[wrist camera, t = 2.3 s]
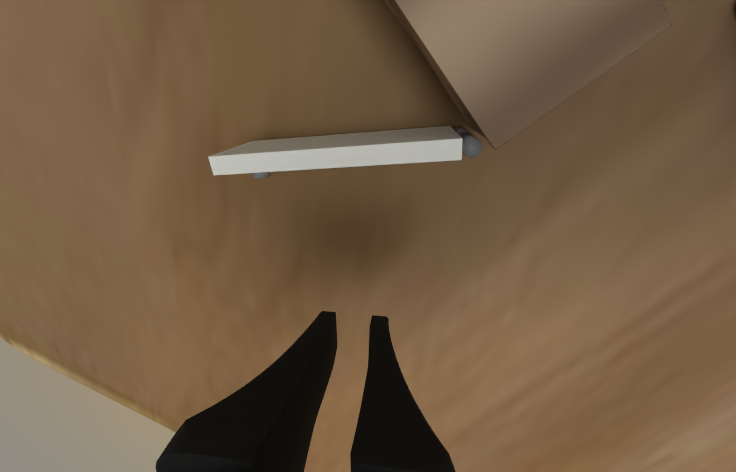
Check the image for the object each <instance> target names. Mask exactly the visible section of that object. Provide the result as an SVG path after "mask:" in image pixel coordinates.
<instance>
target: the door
mask: <svg viewBox="0 0 736 472" xmlns="http://www.w3.org/2000/svg"><path fill="white" fill-rule="evenodd" d="M481 149H482V144H481V142H480V140H478V139H477V138H476V137H475V136H473V135H472V134H471V133H469V132H468V131H467V130H466V129H464V128H463V127H461V126H457V127H455V128H454V129H452V128H451V127H450V126H439V127H426V128H413V129H400V130H387V131H375V132H362V133H349V134H336V135H323V136H310V137H297V138H285V139H272V140H259V141H251V142H248V143H245V144H242V145H240V146H237V147H234V148H231V149H228V150H225V151H223V152H220V153H217V154H214V155H211V156H208V158H209V161H210V165H211V168H212V171H213V175H226V174H242V173H253V176H254V178H255V179H260V178H266V177H269V176H270V172H275V171H291V170H307V169H323V168H339V167H355V166H372V165H388V164H404V163H420V162H436V161H452V160H462V152H463V153H464V154H465V155H466V156H468V157H474V156H477V155H478V154H479V153H480V151H481Z"/></svg>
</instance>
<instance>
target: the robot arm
mask: <svg viewBox="0 0 736 472" xmlns="http://www.w3.org/2000/svg"><path fill="white" fill-rule="evenodd" d="M388 320H389V319H388V318H387V317H385V316H373V315H372V319H371V324H370V335H369V360H368V371H367V376H366V382H365V388H364V393H363V398H362V403H361V408H360V413H359V418H358V423H357V428H356V432H355V436H354V441H353V445H352V449H351V454H350V455H351V472H455V469H454V466H453V463H452V461H451V458H450V455H449V453H448V452H447V450H446V449H445V448H444V446H443V445H442V444H441V442H440V441H439V439H438V438H437V436H436V435H435V434H434V432H433V430H432V429H431V427H430V426H429V424H428V423H427V421H426V420H425V418H424V416H423V414H422V413H421V411H420V409H419V407H418V406H417V404H416V402H415V400H414V398H413V396H412V394H411V392H410V390H409V388H408V386H407V384H406V382H405V380H404V377H403V375H402V372H401V370H400V367H399V364H398V362H397V359H396V356H395V352H394V349H393V346H392V342H391V338H390V333H389V324H388ZM336 350H337V330H336V312H326V311H322V312H321V313H320V314H319V315H318V316H317V318H316V319H315V320H314V321H313V322H312V324H311V325H310V326H309V327H308V328H307V330H306V331H305V332H304V333H303V334H302V335H301V336H300V337H299V338H298V339H297V341H296V342H295V343H294V344H293V345H292V346H291V347H290V348H289V349H288V350H287V351H286V352H285V353H284V354H283V355H282V356H281V357H280V358H278V359H277V360H276V361H275V362H274V363H273V364H272V365H271V366H269V367H268V368H267V369H266V370H265V371H263V372H262V373H261V374H260V375H258V376H257V377H256V378H254V379H253V380H252V381H250V382H249V383H248V384H246V385H245V386H244V387H242V388H241V389H239V390H238V391H236V392H235V393H233V394H231V395H230V396H228V397H227V398H225V399H223V400H222V401H220V402H219V403H217V404H215V405H213V406H212V407H210V408H208V409H206V410H204V411H202V412H200V413H198V414H197V415H195V416H193V417H191V418H189V419H187V420H186V421H185V422H184V423H183V424H182V426H181V427H180V428H179V429H178V431H177V432H176V433H175V435H174V436H173V438H172V439H171V441H170V442H169V444H168V445H167V447H166V448H165V450H164V451H163V453H162V454H161V456H160V457H159V459H158V460H157V462H156V471H157V472H304V468H305V463H306V459H307V454H308V450H309V446H310V441H311V437H312V433H313V428H314V425H315V421H316V418H317V415H318V412H319V409H320V406H321V403H322V400H323V397H324V394H325V391H326V388H327V385H328V381H329V378H330V375H331V372H332V369H333V365H334V360H335V355H336Z"/></svg>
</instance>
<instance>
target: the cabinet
mask: <svg viewBox="0 0 736 472" xmlns="http://www.w3.org/2000/svg"><path fill="white" fill-rule="evenodd" d="M384 1H385V2H386V4H387V5H388V7H389V8H390V10H391V11H392V13H393V14H394V16H395V17H396V19H397V20H398V22H399V23H400V25H401V26H402V28H403V29H404V30H405V32H406V33H407V35H408V36H409V38H410V39H411V41H412V42H413V44H414V45H415V47H416V48H417V50H418V51H419V53H420V54H421V55H422V57H423V58H424V60H425V61H426V63H427V64H428V66H429V67H430V69H431V70H432V72H433V73H434V75H435V76H436V78H437V79H438V81H439V82H440V83H441V85H442V86H443V88H444V89H445V91H446V92H447V94H448V95H449V97H450V98H451V100H452V101H453V103H454V104H455V106H456V107H457V108H458V110H459V111H460V113H461V114H462V116H463V117H464V119H465V120H466V122H467V123H468V125H469V126H470V127H471V128H472V129H474V130H475V131H477V132H478V133H480V134H481V135H483V136H484V137H485V138H486V139H487V140H488V142H489V143H490V145H491V146H492V148H493V149H497V148H498V147H499V146H501V145H502V144H504V143H505V142H507V141H508V140H509V139H511V138H512V137H514V136H515V135H516V134H518V133H519V132H521V131H522V130H523V129H525V128H526V127H528V126H529V125H531V124H532V123H533V122H535V121H536V120H538V119H539V118H540V117H542V116H543V115H545V114H546V113H548V112H549V111H550V110H552V109H553V108H555V107H556V106H557V105H559V104H560V103H562V102H563V101H565V100H566V99H567V98H569V97H570V96H572V95H573V94H574V93H576V92H577V91H579V90H580V89H582V88H583V87H584V86H586V85H587V84H589V83H590V82H591V81H593V80H594V79H596V78H597V77H598V76H600V75H601V74H603V73H604V72H606V71H607V70H608V69H610V68H611V67H613V66H614V65H615V64H617V63H618V62H620V61H621V60H623V59H624V58H625V57H627V56H628V55H630V54H631V53H632V52H634V51H635V50H637V49H638V48H640V47H641V46H642V45H644V44H645V43H647V42H648V41H649V40H651V39H652V38H654V37H655V36H657V35H658V34H659V33H661V32H662V31H664V30H665V29H666V28H668V27H669V26H671V25H672V23H671V21H670V19H669V16H668V14H667V12H666V9H665V7H664V5H663V2H662V0H384Z"/></svg>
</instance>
